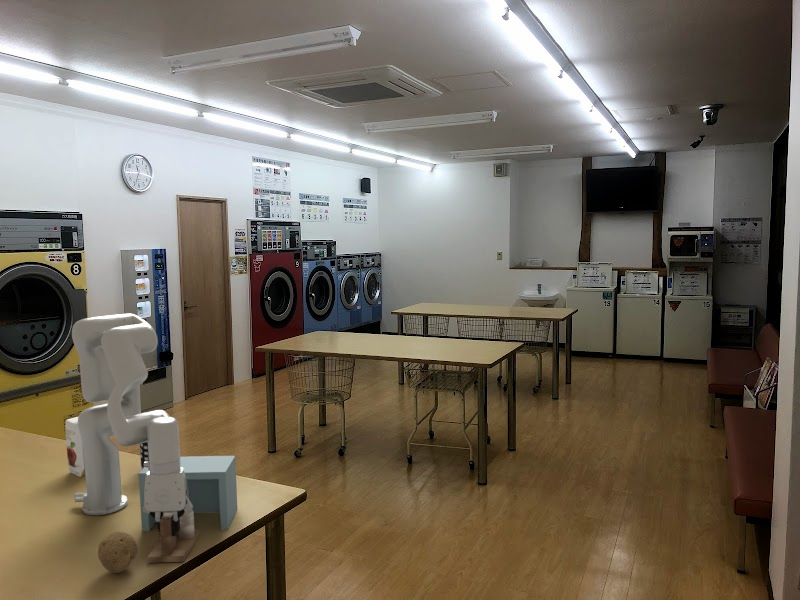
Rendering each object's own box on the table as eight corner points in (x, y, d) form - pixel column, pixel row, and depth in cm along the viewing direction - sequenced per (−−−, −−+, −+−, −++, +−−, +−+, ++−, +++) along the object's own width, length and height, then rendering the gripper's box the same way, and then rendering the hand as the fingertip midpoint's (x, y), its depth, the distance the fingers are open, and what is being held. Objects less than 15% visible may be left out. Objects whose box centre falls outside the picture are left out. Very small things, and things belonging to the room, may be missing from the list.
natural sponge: (117, 558, 162) (115, 522, 161) (146, 563, 159) (144, 526, 158) (91, 577, 153) (88, 539, 152) (121, 583, 151) (118, 544, 150)
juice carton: (87, 465, 223) (83, 414, 221) (100, 471, 218) (96, 418, 216) (66, 472, 217) (62, 419, 215) (78, 478, 212) (74, 424, 210)
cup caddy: (148, 562, 159) (145, 521, 158) (165, 536, 173) (163, 498, 172) (183, 561, 160) (182, 520, 159) (198, 535, 174) (197, 497, 173)
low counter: (141, 531, 176) (138, 473, 174) (156, 511, 188) (153, 457, 186) (227, 529, 177) (225, 471, 175) (237, 509, 189) (235, 455, 187)
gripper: (127, 472, 156) (132, 542, 159) (192, 470, 157) (196, 540, 159) (138, 461, 164) (143, 527, 166) (200, 459, 164) (204, 526, 166)
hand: (169, 533), depth 162 cm, fingers closed on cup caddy, 2 cm apart
